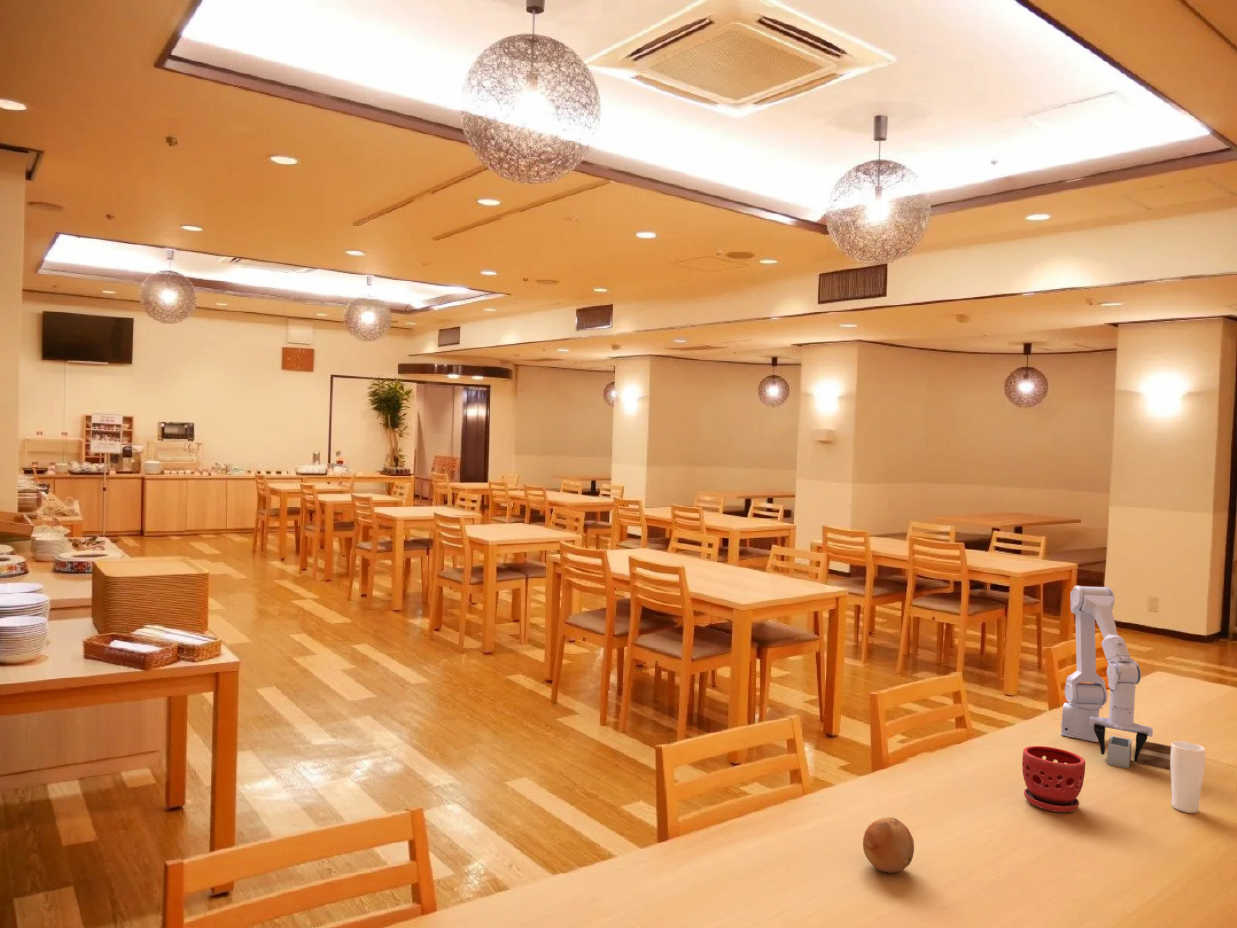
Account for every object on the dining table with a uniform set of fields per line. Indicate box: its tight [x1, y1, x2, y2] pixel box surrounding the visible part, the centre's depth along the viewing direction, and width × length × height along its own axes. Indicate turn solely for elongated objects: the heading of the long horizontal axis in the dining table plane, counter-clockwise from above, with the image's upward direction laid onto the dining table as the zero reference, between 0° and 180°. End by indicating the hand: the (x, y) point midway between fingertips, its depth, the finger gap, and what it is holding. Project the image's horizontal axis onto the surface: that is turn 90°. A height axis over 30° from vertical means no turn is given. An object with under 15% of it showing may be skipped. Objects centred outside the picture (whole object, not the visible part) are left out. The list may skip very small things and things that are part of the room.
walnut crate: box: [1134, 740, 1171, 770], centre depth 233 cm, size 9×12×2 cm
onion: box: [862, 816, 915, 874], centre depth 168 cm, size 10×10×10 cm
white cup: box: [1169, 740, 1206, 814], centre depth 201 cm, size 7×7×15 cm
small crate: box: [1106, 735, 1133, 769], centre depth 230 cm, size 5×8×6 cm, turn 146°
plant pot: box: [1021, 745, 1086, 813], centre depth 201 cm, size 13×13×12 cm
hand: (1119, 756), depth 230 cm, fingers open, 7 cm apart
